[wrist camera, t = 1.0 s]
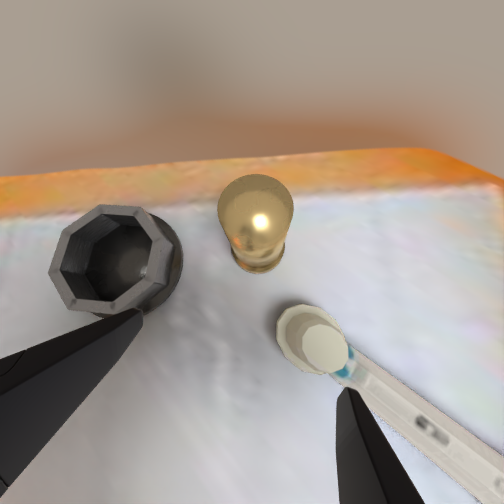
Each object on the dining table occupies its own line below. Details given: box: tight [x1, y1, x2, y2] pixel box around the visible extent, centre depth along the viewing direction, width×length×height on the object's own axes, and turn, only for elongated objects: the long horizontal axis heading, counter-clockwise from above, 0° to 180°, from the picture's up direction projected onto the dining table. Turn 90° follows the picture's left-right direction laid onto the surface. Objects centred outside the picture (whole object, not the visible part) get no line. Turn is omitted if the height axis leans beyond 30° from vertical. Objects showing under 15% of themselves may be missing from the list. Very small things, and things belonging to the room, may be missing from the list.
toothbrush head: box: [276, 304, 504, 504], centre depth 17 cm, size 5×7×25 cm
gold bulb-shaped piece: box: [217, 174, 294, 274], centre depth 19 cm, size 6×6×10 cm
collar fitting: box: [48, 204, 183, 318], centre depth 22 cm, size 12×12×4 cm
